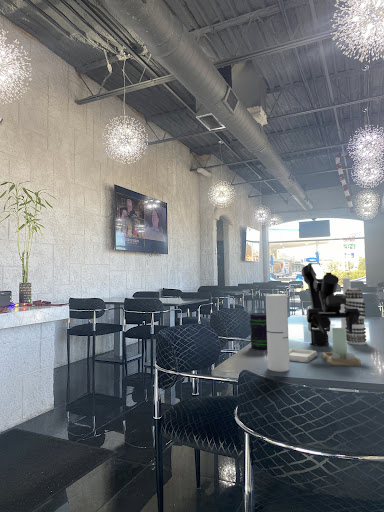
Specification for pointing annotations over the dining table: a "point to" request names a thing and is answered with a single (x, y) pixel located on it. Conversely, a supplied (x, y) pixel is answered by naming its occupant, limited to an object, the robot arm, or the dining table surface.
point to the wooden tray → (340, 361)
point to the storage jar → (258, 331)
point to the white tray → (301, 355)
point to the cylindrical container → (277, 332)
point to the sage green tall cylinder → (340, 342)
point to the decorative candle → (358, 334)
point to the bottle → (343, 321)
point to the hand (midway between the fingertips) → (337, 333)
